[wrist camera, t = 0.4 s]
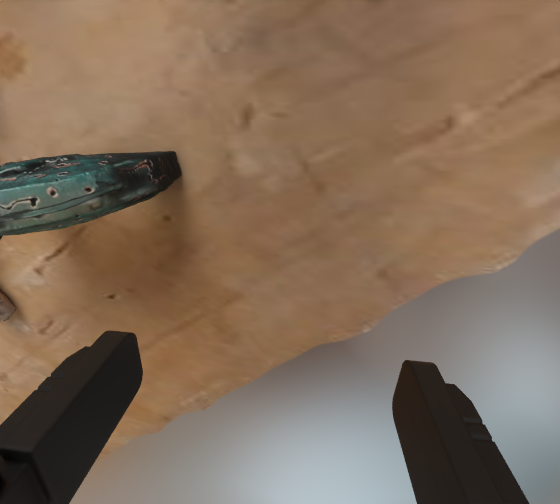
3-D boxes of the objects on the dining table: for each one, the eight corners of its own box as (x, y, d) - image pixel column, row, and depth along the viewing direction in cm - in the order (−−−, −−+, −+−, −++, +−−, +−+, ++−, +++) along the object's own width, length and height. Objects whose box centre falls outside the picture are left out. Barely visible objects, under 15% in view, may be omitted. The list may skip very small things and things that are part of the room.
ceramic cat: (48, 217, 39) (-178, 302, 21) (22, 166, 37) (-260, 212, 18) (193, 187, 36) (76, 258, 18) (175, 130, 34) (17, 143, 15)
